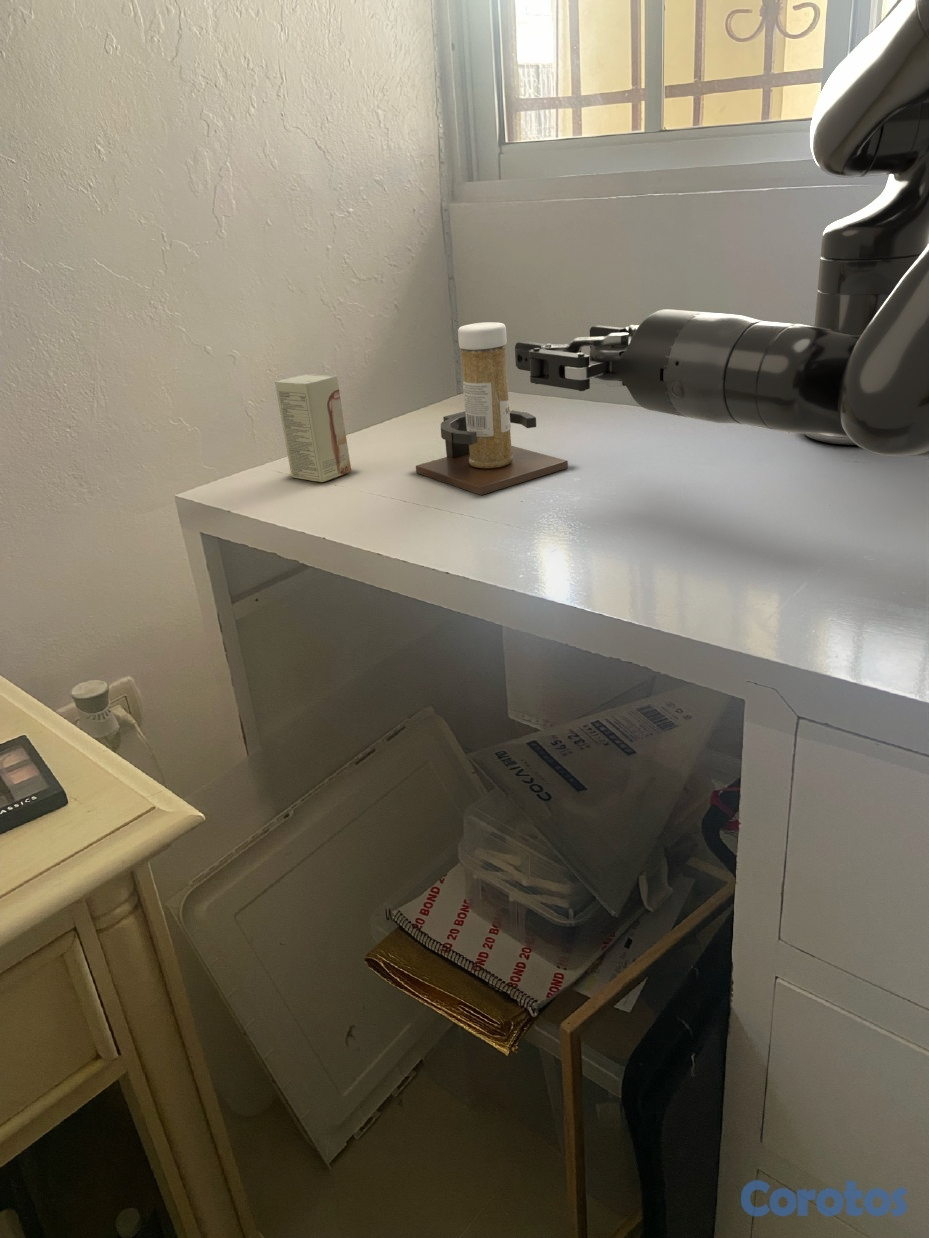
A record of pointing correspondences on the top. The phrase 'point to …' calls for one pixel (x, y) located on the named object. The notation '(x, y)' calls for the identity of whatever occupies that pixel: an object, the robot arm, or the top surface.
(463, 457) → the cup holder
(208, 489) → the top surface
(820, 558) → the top surface
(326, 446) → the printed product carton
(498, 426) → the spice jar
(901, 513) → the top surface
